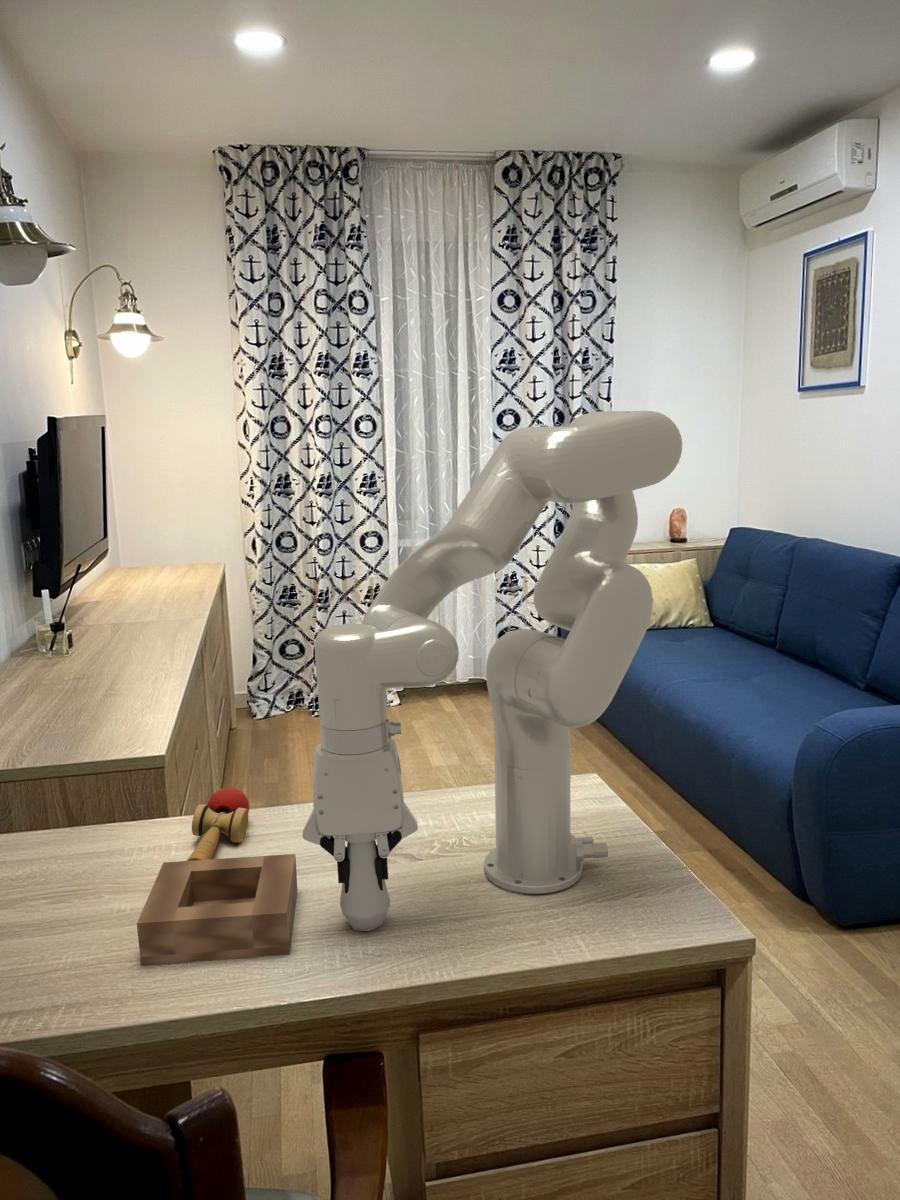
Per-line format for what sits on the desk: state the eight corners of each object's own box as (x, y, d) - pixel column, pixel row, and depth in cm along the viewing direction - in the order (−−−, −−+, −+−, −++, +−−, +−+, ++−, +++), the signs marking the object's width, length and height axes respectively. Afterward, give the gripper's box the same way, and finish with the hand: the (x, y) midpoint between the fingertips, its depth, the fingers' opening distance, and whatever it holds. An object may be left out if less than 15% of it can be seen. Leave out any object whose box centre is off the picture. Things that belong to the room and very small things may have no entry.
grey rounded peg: (383, 937, 106) (377, 831, 103) (334, 933, 107) (327, 828, 104) (396, 910, 111) (391, 808, 108) (350, 907, 112) (343, 806, 110)
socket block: (297, 890, 117) (295, 853, 116) (289, 954, 103) (286, 912, 102) (166, 899, 115) (163, 862, 114) (140, 965, 102) (136, 923, 101)
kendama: (233, 886, 121) (264, 810, 138) (219, 845, 119) (253, 773, 136) (177, 895, 122) (215, 818, 139) (162, 854, 120) (202, 782, 137)
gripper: (425, 719, 109) (431, 865, 112) (283, 729, 107) (294, 876, 111) (430, 742, 101) (437, 897, 105) (277, 752, 100) (290, 909, 104)
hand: (363, 884), depth 108 cm, fingers closed on grey rounded peg, 3 cm apart
